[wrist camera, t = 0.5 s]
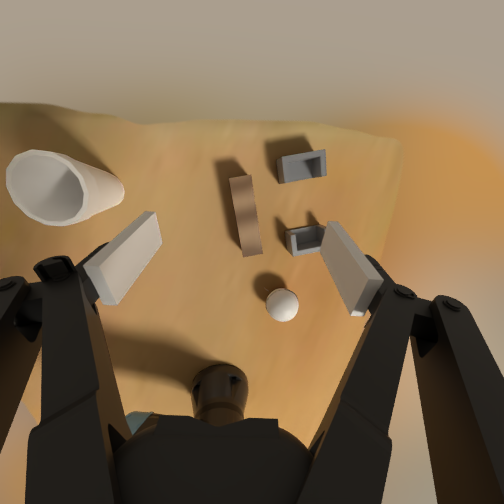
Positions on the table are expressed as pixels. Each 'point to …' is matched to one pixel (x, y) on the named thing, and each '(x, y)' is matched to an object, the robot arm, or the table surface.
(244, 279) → the table surface
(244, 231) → the slat
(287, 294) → the ball
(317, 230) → the cap
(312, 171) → the cap
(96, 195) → the foam cup
